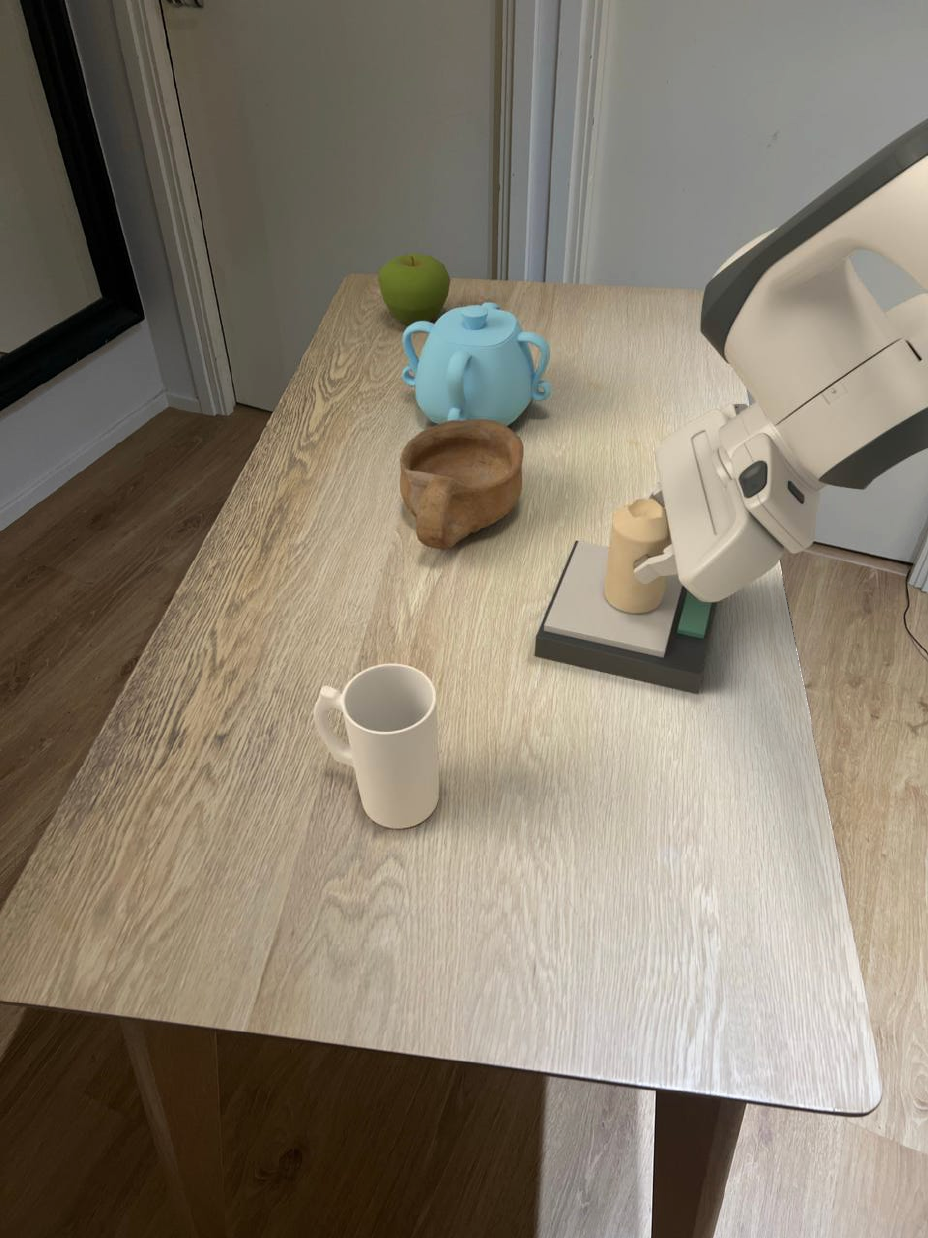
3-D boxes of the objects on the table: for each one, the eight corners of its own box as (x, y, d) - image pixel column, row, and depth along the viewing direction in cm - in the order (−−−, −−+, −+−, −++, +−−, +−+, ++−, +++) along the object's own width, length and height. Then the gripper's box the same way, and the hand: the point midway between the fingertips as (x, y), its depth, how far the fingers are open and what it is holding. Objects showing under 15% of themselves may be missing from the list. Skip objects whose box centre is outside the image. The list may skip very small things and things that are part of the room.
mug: (455, 776, 73) (450, 677, 64) (422, 843, 68) (413, 745, 60) (345, 743, 75) (328, 643, 67) (307, 805, 71) (283, 706, 63)
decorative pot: (560, 427, 112) (567, 324, 102) (442, 456, 107) (438, 351, 98) (506, 371, 123) (508, 273, 113) (396, 394, 118) (389, 295, 109)
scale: (719, 588, 89) (725, 562, 87) (697, 694, 79) (703, 668, 76) (574, 558, 93) (576, 533, 91) (534, 656, 83) (535, 630, 80)
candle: (663, 617, 81) (679, 529, 74) (602, 611, 82) (612, 524, 75) (662, 577, 85) (678, 491, 78) (605, 573, 86) (615, 487, 79)
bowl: (537, 564, 90) (511, 485, 83) (407, 589, 93) (373, 515, 87) (537, 464, 103) (515, 389, 96) (423, 490, 106) (394, 419, 100)
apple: (441, 340, 130) (438, 273, 123) (372, 334, 132) (366, 267, 125) (458, 309, 137) (457, 244, 130) (393, 303, 139) (388, 239, 132)
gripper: (724, 372, 79) (603, 464, 86) (770, 509, 64) (620, 607, 71) (764, 417, 81) (644, 502, 89) (818, 558, 67) (668, 648, 74)
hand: (633, 550), depth 80 cm, fingers closed on candle, 5 cm apart
